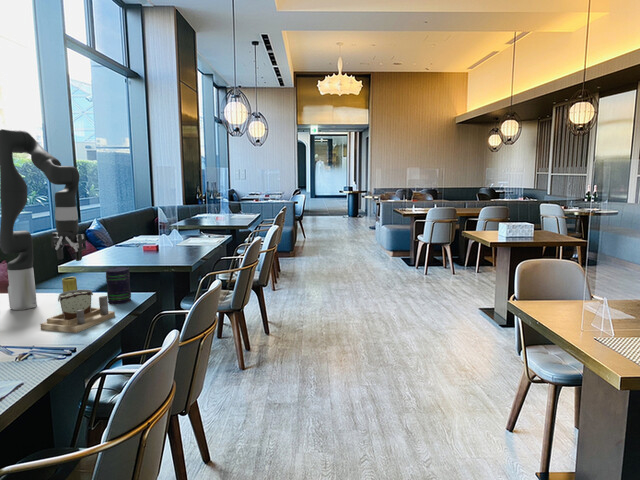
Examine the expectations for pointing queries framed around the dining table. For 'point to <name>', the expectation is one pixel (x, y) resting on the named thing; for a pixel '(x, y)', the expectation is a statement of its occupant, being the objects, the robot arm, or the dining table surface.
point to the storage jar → (118, 285)
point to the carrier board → (78, 327)
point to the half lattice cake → (75, 302)
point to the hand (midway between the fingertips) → (69, 259)
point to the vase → (69, 284)
